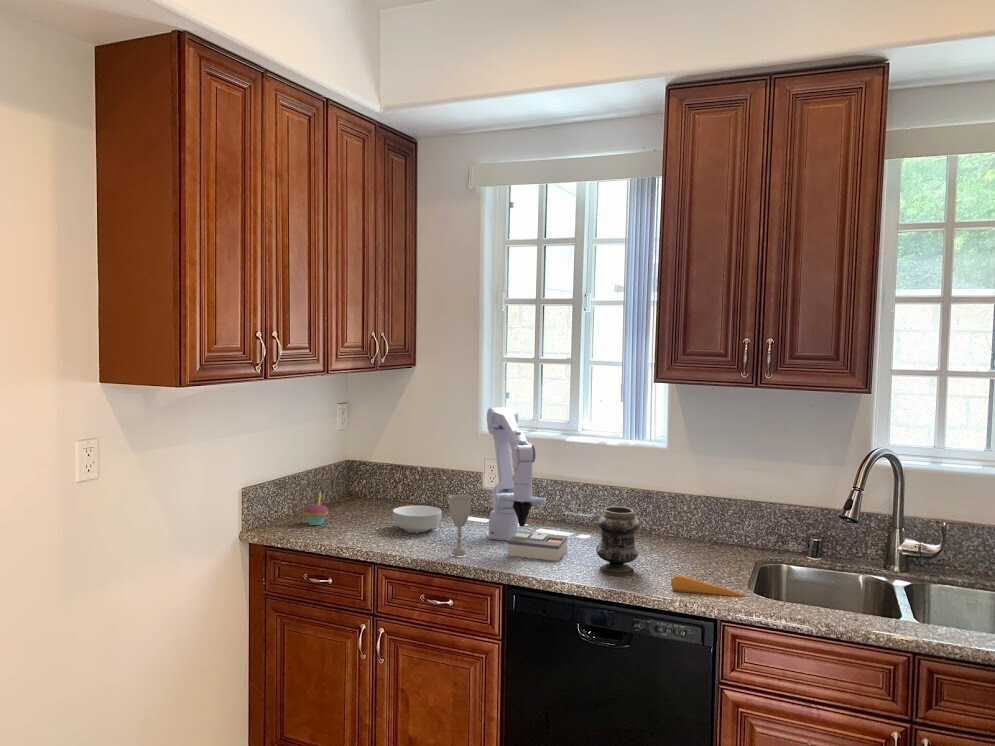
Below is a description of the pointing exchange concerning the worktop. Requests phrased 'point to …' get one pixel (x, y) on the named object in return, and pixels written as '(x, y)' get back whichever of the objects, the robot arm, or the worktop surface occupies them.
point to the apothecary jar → (617, 540)
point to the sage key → (522, 536)
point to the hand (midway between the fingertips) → (522, 525)
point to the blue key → (538, 537)
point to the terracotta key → (554, 541)
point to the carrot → (699, 586)
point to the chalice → (459, 518)
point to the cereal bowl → (416, 518)
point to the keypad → (538, 547)
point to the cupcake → (316, 512)
